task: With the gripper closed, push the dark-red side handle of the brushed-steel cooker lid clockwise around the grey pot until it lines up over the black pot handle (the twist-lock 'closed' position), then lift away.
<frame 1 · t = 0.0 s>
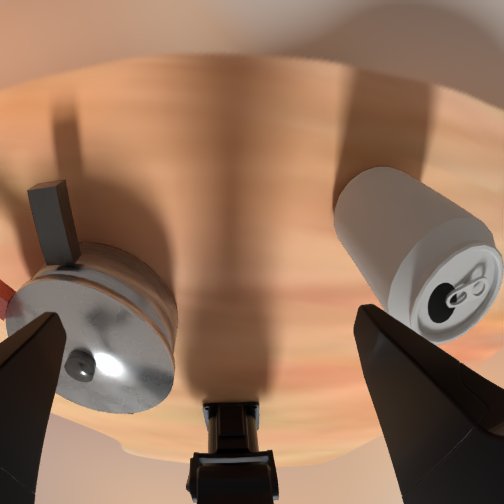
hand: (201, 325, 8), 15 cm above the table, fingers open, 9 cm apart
can: (373, 208, 23), on the table
pot: (103, 311, 26), on the table
lid: (51, 342, 20), point 6 cm above the table, hinge at 50.0°
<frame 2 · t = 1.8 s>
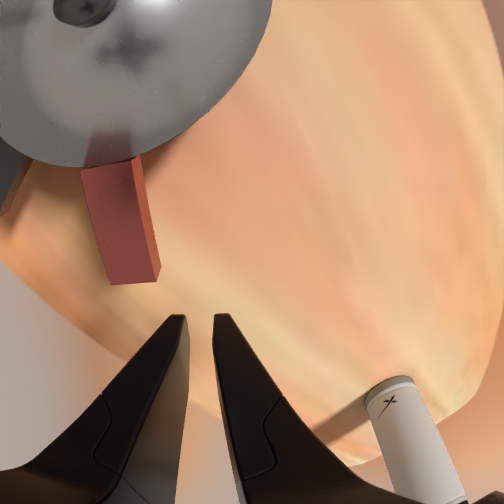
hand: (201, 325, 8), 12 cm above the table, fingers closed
travel mug: (387, 391, 31), on the table
pot: (132, 27, 14), on the table
lid: (93, 62, 10), point 6 cm above the table, hinge at 50.0°
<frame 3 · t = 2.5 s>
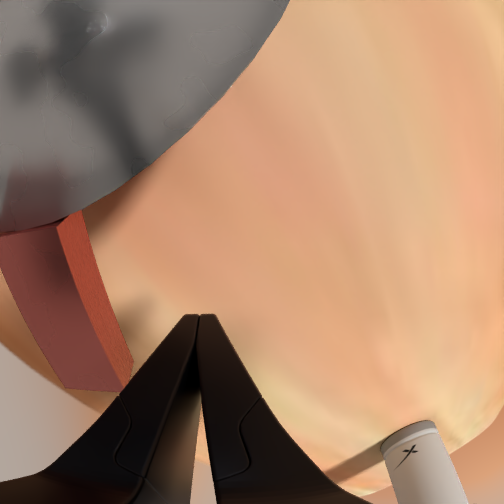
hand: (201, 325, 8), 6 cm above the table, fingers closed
travel mug: (405, 435, 26), on the table
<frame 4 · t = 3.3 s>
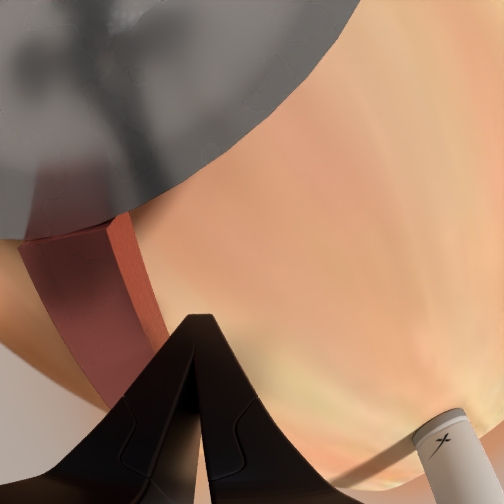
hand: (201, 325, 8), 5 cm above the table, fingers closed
travel mug: (436, 424, 25), on the table
lid: (19, 32, 4), point 6 cm above the table, hinge at 49.9°, touching gripper
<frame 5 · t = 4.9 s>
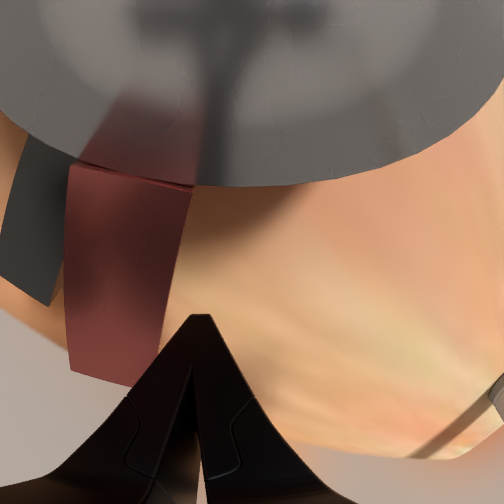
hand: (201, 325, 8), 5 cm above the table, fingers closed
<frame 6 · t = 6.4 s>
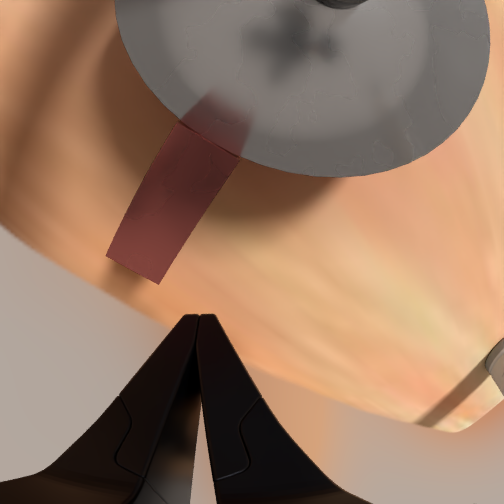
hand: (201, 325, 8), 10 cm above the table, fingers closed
travel mug: (500, 349, 28), on the table
lid: (287, 33, 8), point 6 cm above the table, hinge at 0.3°
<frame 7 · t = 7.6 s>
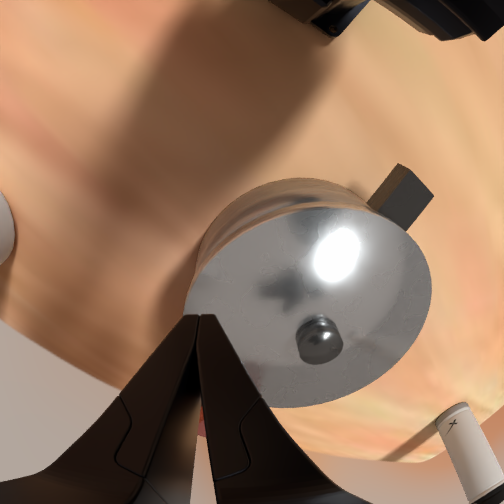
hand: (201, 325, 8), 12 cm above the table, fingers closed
travel mug: (449, 413, 38), on the table
pot: (296, 274, 22), on the table
lid: (284, 364, 18), point 6 cm above the table, hinge at 0.3°
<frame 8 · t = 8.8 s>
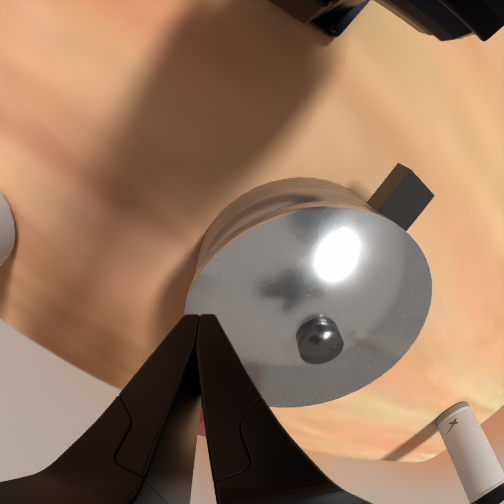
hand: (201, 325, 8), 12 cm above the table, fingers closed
travel mug: (450, 412, 38), on the table
pot: (296, 274, 22), on the table
lid: (285, 364, 18), point 6 cm above the table, hinge at 0.3°
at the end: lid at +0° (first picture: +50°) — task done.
